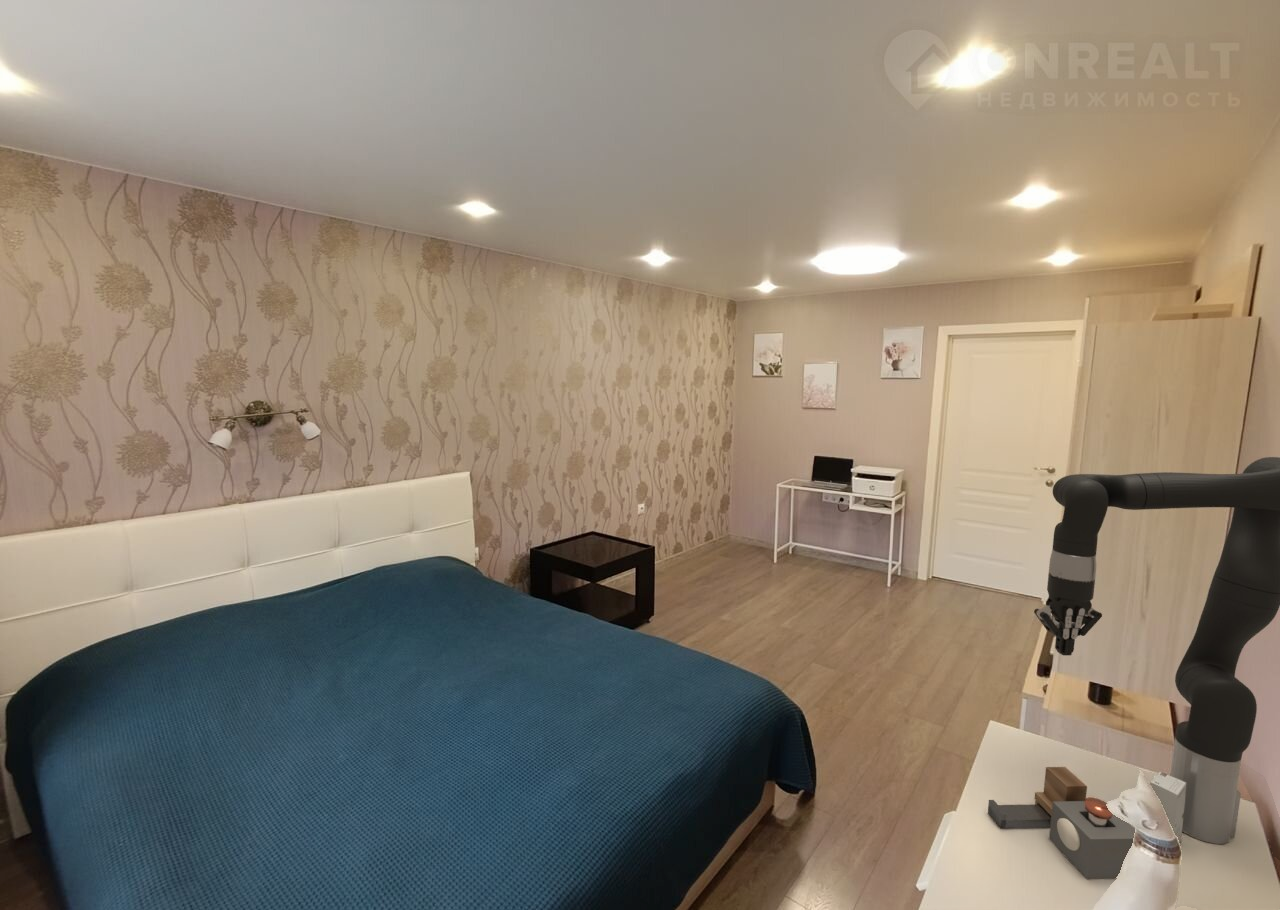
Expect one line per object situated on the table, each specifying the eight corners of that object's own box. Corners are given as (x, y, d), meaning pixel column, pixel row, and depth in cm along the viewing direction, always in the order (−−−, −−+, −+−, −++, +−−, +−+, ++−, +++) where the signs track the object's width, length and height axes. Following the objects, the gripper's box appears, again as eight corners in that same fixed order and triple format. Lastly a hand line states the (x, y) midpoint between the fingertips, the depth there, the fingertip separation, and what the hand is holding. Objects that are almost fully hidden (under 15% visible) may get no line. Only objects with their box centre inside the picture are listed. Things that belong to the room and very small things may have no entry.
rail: (1082, 812, 116) (1084, 798, 115) (1098, 827, 112) (1100, 813, 111) (987, 813, 115) (988, 799, 115) (1000, 829, 111) (1001, 814, 111)
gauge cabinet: (1099, 837, 109) (1103, 800, 108) (1140, 878, 100) (1145, 838, 99) (1046, 838, 109) (1050, 801, 108) (1084, 879, 100) (1088, 839, 99)
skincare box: (1172, 854, 105) (1180, 796, 104) (1141, 838, 109) (1148, 782, 107) (1182, 839, 109) (1189, 783, 107) (1152, 824, 112) (1158, 769, 111)
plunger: (1096, 831, 106) (1100, 797, 105) (1114, 848, 102) (1118, 813, 101) (1075, 831, 106) (1079, 797, 105) (1093, 849, 102) (1097, 813, 101)
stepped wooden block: (1066, 806, 117) (1070, 765, 116) (1091, 831, 110) (1096, 787, 109) (1033, 807, 117) (1037, 765, 115) (1056, 831, 110) (1061, 788, 109)
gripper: (1088, 567, 117) (1080, 645, 119) (1026, 567, 117) (1019, 645, 119) (1119, 579, 110) (1110, 662, 112) (1053, 580, 109) (1045, 663, 112)
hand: (1063, 653), depth 115 cm, fingers closed
